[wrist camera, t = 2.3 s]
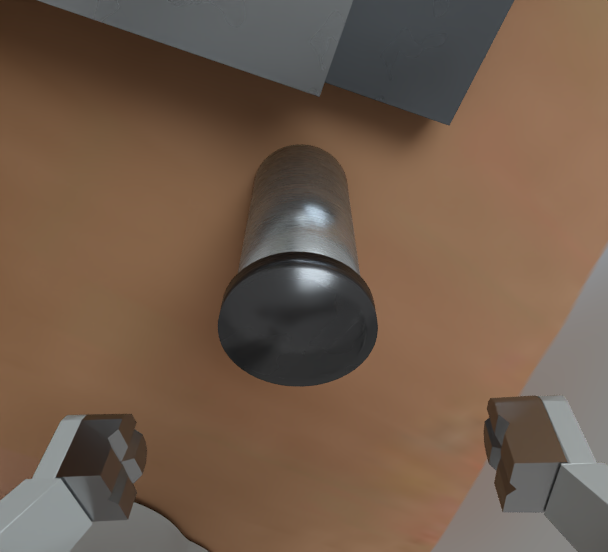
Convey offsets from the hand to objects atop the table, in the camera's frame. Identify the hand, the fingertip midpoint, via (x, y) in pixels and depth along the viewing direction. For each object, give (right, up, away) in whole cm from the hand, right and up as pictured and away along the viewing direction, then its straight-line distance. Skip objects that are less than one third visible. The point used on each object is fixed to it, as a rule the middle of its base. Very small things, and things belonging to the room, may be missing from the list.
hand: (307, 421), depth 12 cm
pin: (0, +7, +10) cm, 12 cm away
